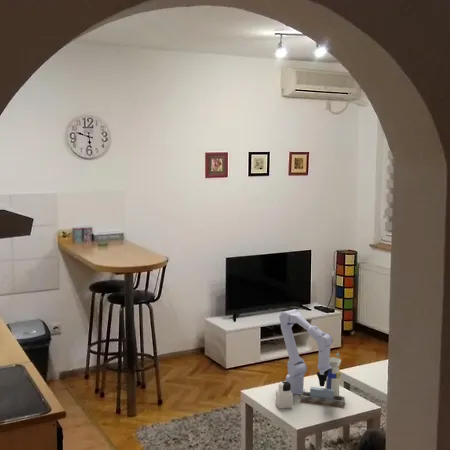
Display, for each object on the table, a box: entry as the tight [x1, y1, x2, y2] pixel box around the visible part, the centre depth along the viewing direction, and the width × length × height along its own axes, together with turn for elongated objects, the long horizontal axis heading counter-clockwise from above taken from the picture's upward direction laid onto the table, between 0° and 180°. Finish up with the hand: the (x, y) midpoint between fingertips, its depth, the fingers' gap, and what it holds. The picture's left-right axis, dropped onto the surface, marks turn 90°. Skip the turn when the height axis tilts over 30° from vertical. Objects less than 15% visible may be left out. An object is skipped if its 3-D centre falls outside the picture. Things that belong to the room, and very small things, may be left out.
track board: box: [299, 391, 346, 409], centre depth 315 cm, size 22×8×3 cm, turn 74°
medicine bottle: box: [275, 380, 294, 409], centre depth 309 cm, size 7×7×12 cm
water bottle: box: [324, 351, 342, 396], centre depth 324 cm, size 8×9×25 cm
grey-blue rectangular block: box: [309, 386, 334, 399], centre depth 315 cm, size 12×3×6 cm, turn 74°
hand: (322, 383), depth 314 cm, fingers open, 7 cm apart
